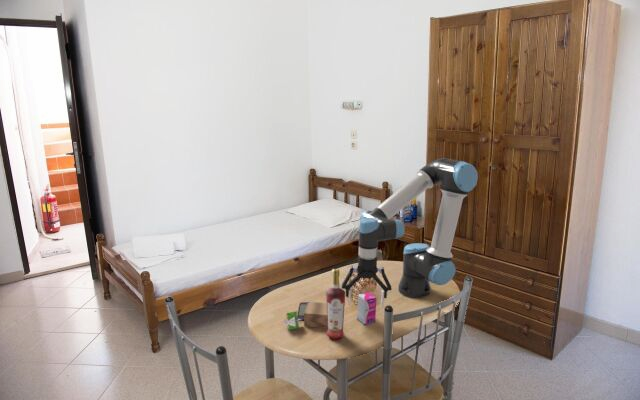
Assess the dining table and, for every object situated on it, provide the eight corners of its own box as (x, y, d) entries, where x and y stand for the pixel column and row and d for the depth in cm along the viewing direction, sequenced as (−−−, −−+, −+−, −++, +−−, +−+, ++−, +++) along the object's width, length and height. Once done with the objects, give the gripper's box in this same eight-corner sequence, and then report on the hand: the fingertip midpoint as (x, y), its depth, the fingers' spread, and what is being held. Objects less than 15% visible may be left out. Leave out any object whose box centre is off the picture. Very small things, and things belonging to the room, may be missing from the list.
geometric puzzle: (280, 318, 191) (283, 309, 185) (296, 315, 193) (300, 306, 187) (285, 334, 187) (288, 326, 181) (301, 331, 189) (305, 322, 183)
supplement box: (364, 325, 189) (364, 300, 186) (356, 319, 194) (357, 294, 191) (376, 322, 192) (376, 297, 189) (368, 316, 197) (368, 291, 194)
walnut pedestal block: (331, 316, 197) (331, 303, 196) (328, 328, 188) (328, 315, 186) (308, 314, 199) (308, 301, 197) (304, 326, 189) (304, 313, 188)
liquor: (326, 341, 178) (326, 274, 171) (326, 331, 185) (325, 266, 178) (345, 341, 178) (346, 274, 171) (344, 331, 185) (344, 266, 178)
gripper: (398, 253, 189) (395, 301, 194) (336, 251, 190) (335, 299, 195) (400, 260, 181) (397, 309, 187) (336, 258, 183) (335, 307, 188)
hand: (365, 304), depth 191 cm, fingers open, 13 cm apart
